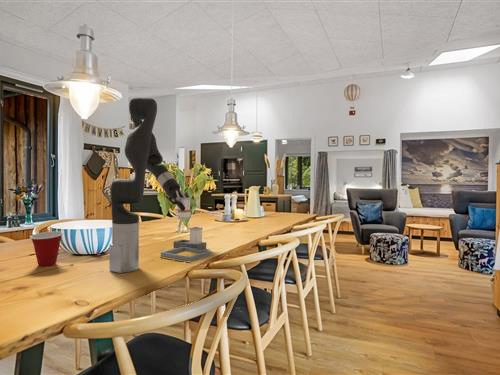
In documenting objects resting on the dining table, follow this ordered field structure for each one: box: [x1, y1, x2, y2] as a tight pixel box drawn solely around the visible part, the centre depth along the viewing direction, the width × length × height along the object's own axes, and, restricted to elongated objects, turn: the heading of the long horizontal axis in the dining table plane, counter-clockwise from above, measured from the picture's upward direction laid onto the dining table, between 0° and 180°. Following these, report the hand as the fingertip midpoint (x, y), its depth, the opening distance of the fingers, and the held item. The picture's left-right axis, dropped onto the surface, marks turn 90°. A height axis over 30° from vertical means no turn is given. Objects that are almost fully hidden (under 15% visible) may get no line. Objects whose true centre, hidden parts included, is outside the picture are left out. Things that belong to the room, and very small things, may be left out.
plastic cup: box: [29, 230, 64, 268], centre depth 126 cm, size 11×11×12 cm
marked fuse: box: [177, 197, 192, 220], centre depth 157 cm, size 4×4×10 cm
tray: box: [160, 247, 212, 264], centre depth 141 cm, size 14×16×2 cm
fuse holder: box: [173, 238, 207, 250], centre depth 155 cm, size 7×14×4 cm, turn 60°
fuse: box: [189, 226, 203, 244], centre depth 153 cm, size 4×4×10 cm
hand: (187, 209), depth 156 cm, fingers closed on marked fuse, 4 cm apart
